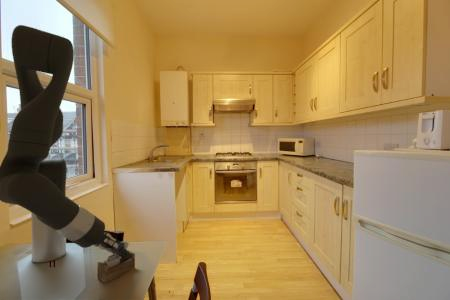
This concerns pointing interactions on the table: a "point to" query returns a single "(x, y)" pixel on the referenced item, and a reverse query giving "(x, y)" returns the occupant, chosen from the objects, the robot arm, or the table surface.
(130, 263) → the open wooden box
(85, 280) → the table surface
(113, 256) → the lighter
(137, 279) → the table surface
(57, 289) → the table surface
